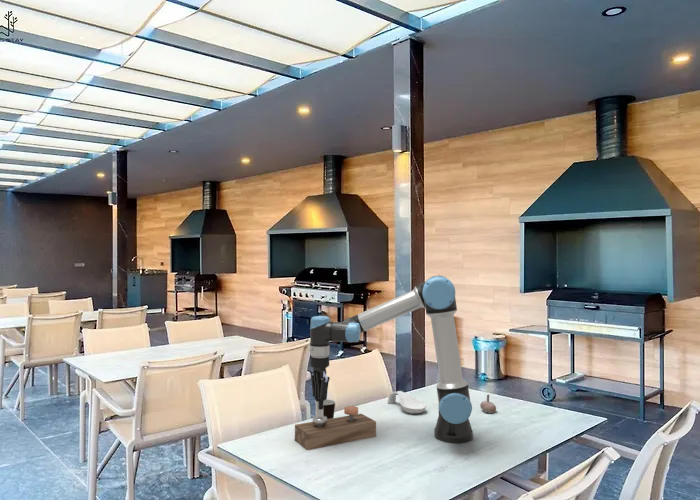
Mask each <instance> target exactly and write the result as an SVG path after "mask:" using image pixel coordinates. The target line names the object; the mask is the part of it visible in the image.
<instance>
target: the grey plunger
mask: <svg viewBox="0 0 700 500" xmlns="http://www.w3.org/2000/svg"><path fill="white" fill-rule="evenodd" d="M312 422H313V424H314V425H318V427H321V426H322V425H325V424H327V417H326V416H323V417H321V418H316V415H315V416H313V417H312Z"/></svg>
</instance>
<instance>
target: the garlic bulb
mask: <svg viewBox="0 0 700 500" xmlns="http://www.w3.org/2000/svg"><path fill="white" fill-rule="evenodd" d="M480 409H481V410H482V411H484V413H485V414H493V413H495V412H497V407H496V405H495V403H493V402H492V401H490V394H487V395H486V401H485V400H484V401H481V403H480Z"/></svg>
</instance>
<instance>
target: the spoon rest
mask: <svg viewBox="0 0 700 500" xmlns="http://www.w3.org/2000/svg"><path fill="white" fill-rule="evenodd" d="M397 396H398V400H399V401H398V402H399V404H400V406H401V408H402V410H403V411H405V412H406V413H407V414H412V415H417V414H421V413H423V412H424V411H425V410H426V408H427V407H428V406H427V404H426V403H424V401H421V400H420V399H417V398H416V397H413V396H412V395H410V394H408V393H406V392H404V391H403V390H398V391H392V392H391V393H389V395H388V398H387V404H395V403H396V402H397V401H396V399H397Z"/></svg>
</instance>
